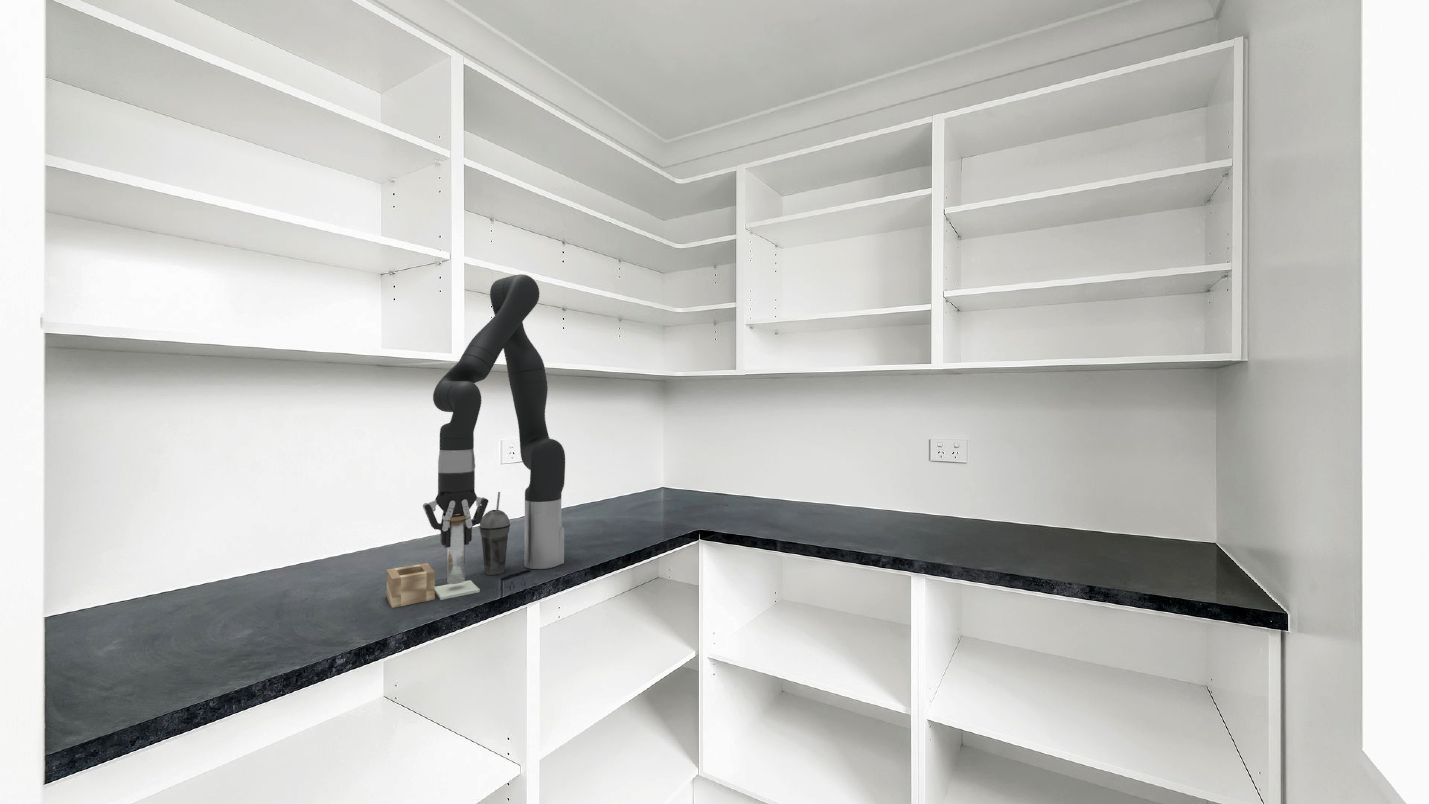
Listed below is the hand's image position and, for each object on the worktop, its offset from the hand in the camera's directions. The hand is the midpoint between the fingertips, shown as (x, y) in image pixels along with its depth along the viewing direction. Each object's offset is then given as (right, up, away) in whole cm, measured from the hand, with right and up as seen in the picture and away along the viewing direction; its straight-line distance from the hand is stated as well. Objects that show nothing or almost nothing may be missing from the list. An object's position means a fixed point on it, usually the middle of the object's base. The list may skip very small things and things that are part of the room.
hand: (456, 545), depth 125 cm
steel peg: (0, -8, 0) cm, 8 cm away
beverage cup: (+3, -11, +14) cm, 18 cm away
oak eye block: (-8, -10, -5) cm, 14 cm away
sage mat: (0, -10, 0) cm, 10 cm away
